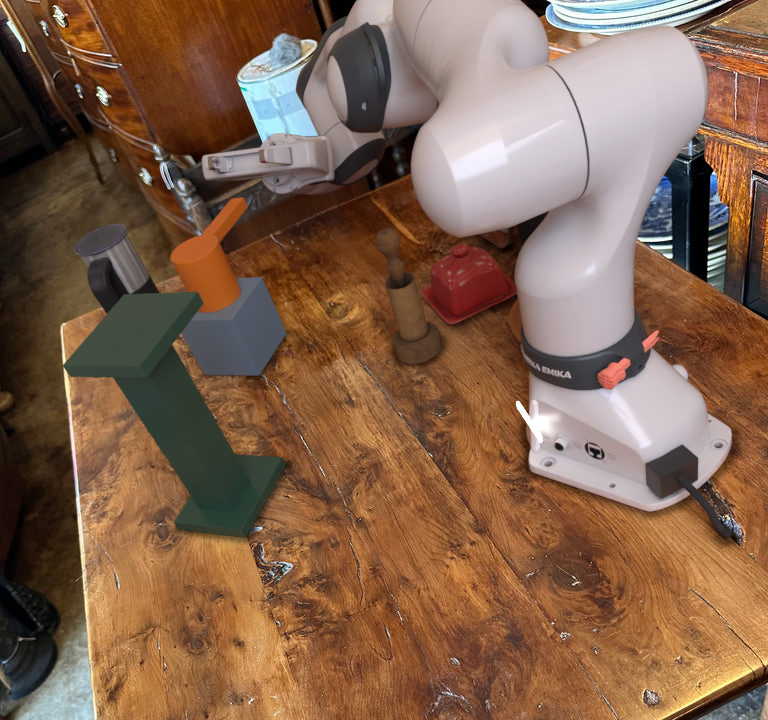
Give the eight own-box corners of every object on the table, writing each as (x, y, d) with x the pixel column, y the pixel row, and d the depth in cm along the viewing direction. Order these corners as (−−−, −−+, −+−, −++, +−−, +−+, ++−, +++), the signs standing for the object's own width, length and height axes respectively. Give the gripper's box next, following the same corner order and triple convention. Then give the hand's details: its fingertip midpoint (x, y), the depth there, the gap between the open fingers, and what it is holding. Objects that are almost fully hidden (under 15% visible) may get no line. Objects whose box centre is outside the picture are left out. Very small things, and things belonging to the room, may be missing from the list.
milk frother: (117, 312, 140) (72, 238, 130) (199, 277, 141) (160, 200, 130) (123, 352, 130) (74, 275, 120) (211, 315, 131) (170, 234, 120)
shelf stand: (222, 460, 104) (123, 294, 86) (286, 465, 100) (198, 291, 82) (178, 530, 98) (61, 365, 79) (246, 538, 93) (139, 366, 75)
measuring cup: (238, 246, 122) (217, 198, 117) (277, 243, 119) (257, 194, 114) (187, 313, 113) (161, 264, 107) (227, 312, 110) (203, 262, 104)
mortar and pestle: (438, 362, 106) (405, 242, 93) (392, 366, 108) (354, 250, 95) (445, 331, 110) (414, 213, 97) (401, 336, 112) (365, 221, 99)
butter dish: (419, 298, 117) (405, 247, 111) (489, 266, 118) (478, 213, 112) (450, 334, 109) (437, 281, 103) (525, 299, 110) (516, 245, 104)
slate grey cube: (232, 333, 125) (206, 279, 118) (286, 333, 121) (262, 276, 114) (203, 375, 119) (173, 320, 112) (259, 375, 115) (231, 319, 108)
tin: (462, 223, 128) (452, 174, 122) (479, 215, 129) (469, 165, 123) (510, 257, 118) (501, 205, 112) (528, 248, 118) (520, 195, 112)
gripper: (229, 150, 129) (175, 143, 117) (339, 134, 120) (292, 126, 109) (234, 191, 131) (181, 189, 119) (343, 179, 122) (297, 175, 111)
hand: (235, 159), depth 114 cm, fingers open, 8 cm apart
